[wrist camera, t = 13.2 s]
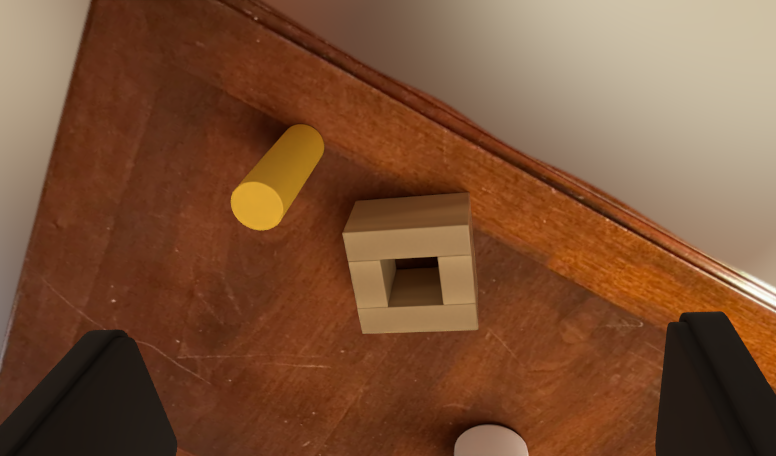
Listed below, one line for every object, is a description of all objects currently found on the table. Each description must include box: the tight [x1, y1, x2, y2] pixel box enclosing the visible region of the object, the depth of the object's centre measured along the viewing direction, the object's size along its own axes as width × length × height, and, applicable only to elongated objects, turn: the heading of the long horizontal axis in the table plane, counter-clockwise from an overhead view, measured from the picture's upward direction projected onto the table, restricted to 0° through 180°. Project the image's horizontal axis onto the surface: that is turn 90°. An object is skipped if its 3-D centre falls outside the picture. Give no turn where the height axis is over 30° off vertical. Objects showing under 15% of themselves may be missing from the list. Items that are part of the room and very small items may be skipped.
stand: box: [342, 192, 478, 334], centre depth 41 cm, size 8×8×5 cm
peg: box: [231, 124, 324, 230], centre depth 37 cm, size 3×3×10 cm
